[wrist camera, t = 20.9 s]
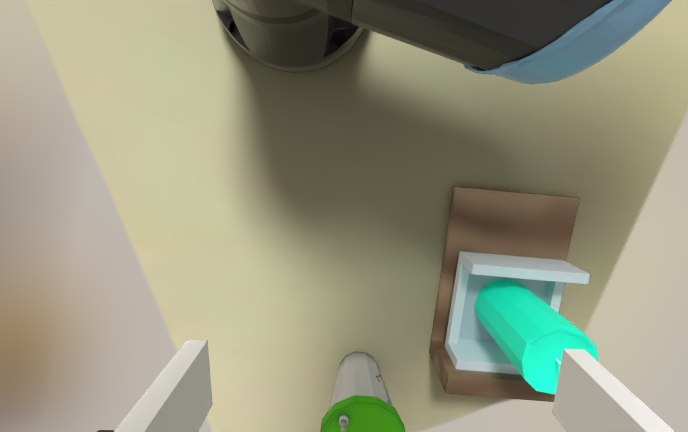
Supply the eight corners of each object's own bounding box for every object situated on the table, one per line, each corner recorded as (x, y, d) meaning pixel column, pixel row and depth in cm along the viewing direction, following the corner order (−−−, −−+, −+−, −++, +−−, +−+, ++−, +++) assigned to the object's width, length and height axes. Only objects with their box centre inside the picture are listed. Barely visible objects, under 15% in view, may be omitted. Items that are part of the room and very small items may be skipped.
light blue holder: (457, 249, 38) (473, 264, 33) (559, 257, 38) (589, 274, 33) (442, 342, 40) (455, 369, 35) (538, 350, 40) (565, 378, 35)
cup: (395, 393, 42) (421, 525, 28) (331, 401, 43) (323, 536, 28) (387, 334, 41) (410, 441, 26) (320, 343, 41) (306, 453, 27)
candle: (541, 295, 38) (629, 362, 26) (508, 339, 39) (579, 423, 27) (495, 268, 37) (564, 324, 26) (463, 313, 38) (515, 387, 27)
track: (454, 186, 38) (478, 195, 31) (574, 197, 38) (625, 209, 31) (429, 351, 41) (445, 393, 34) (539, 361, 41) (577, 403, 35)
